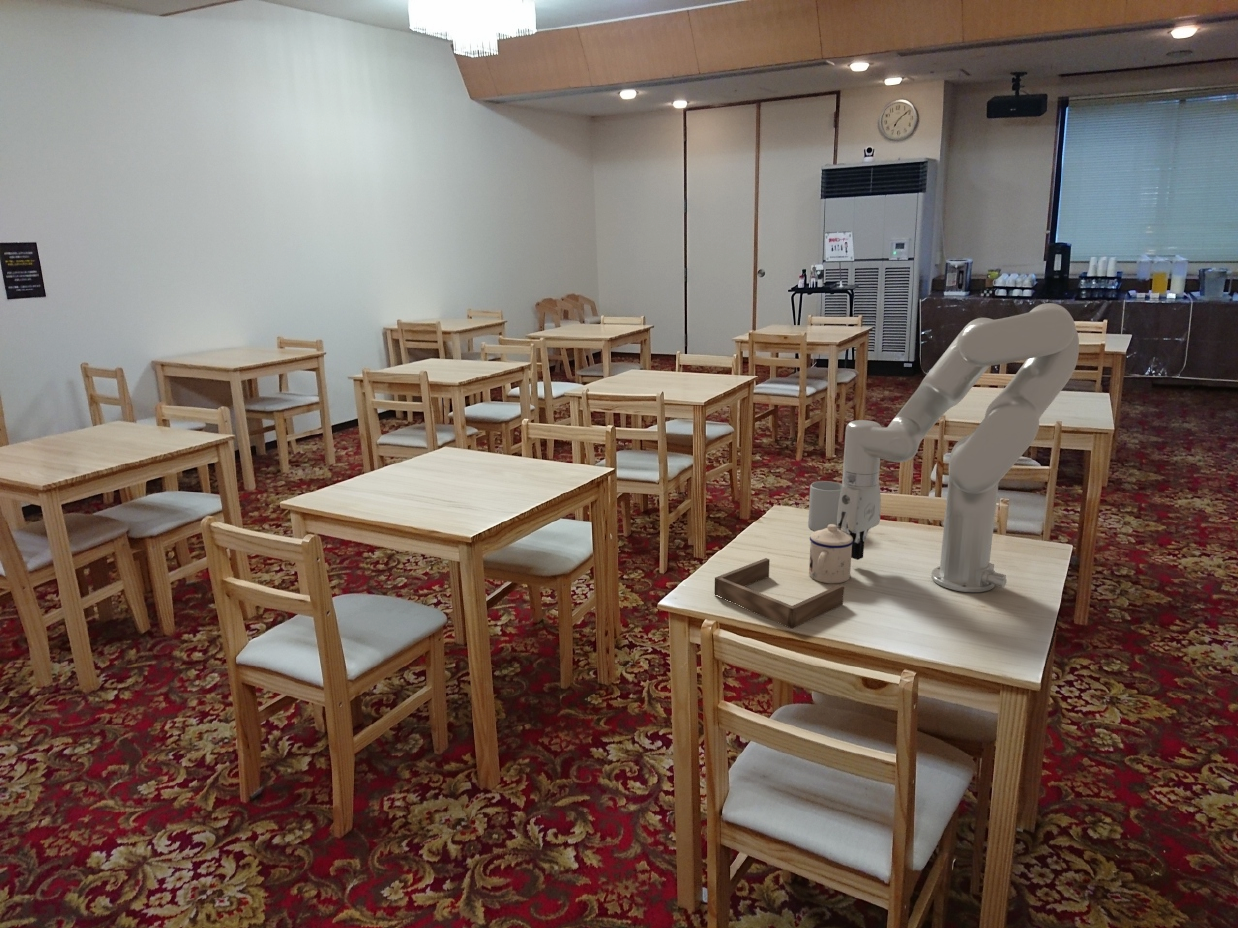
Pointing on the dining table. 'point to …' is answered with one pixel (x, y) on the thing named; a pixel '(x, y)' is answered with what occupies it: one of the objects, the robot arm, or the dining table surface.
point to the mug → (823, 504)
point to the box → (788, 615)
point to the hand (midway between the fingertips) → (854, 557)
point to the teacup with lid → (830, 555)
